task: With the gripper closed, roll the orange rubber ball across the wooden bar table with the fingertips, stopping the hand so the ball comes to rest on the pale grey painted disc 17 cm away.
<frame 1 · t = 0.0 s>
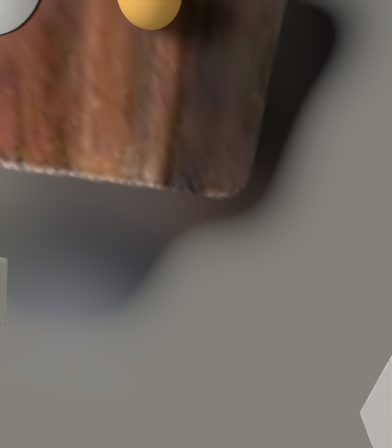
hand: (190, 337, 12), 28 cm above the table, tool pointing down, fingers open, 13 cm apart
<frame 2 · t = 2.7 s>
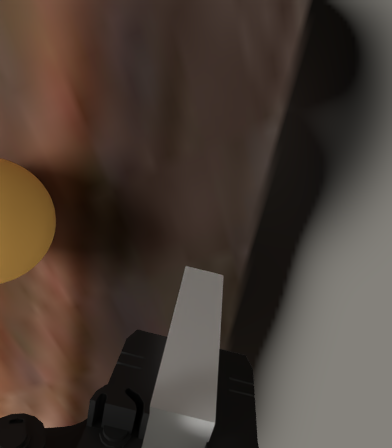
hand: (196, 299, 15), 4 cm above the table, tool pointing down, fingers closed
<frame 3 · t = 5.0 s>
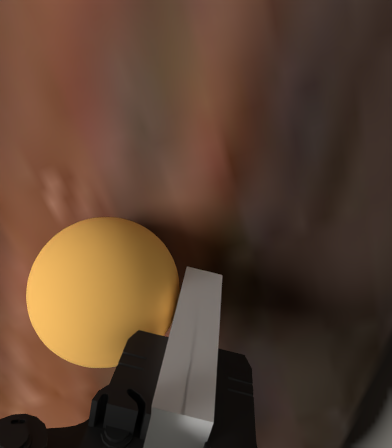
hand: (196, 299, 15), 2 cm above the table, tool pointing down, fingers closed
ball: (106, 289, 14), on the table, touching gripper
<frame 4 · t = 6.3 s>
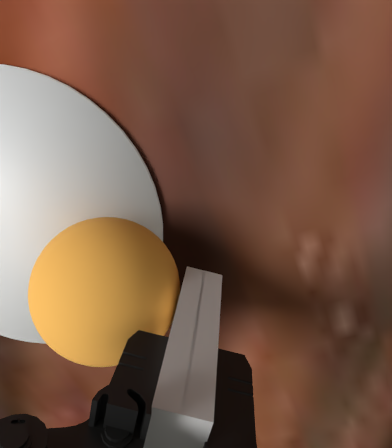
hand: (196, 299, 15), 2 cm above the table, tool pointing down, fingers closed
ball: (107, 289, 14), on the table, touching gripper
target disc: (19, 222, 16), on the table
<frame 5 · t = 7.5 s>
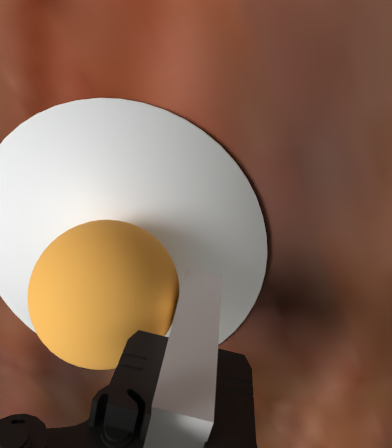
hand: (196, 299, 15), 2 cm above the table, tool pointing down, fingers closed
ball: (107, 291, 14), on the table, touching gripper
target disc: (119, 251, 16), on the table
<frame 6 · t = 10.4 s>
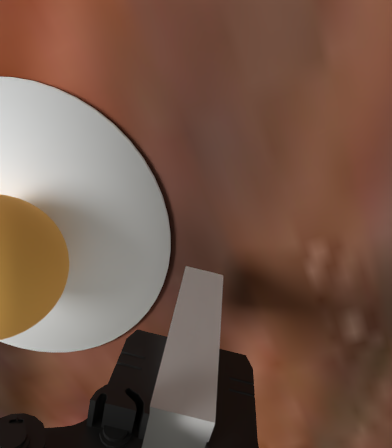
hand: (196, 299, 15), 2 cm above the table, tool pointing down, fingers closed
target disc: (27, 233, 16), on the table
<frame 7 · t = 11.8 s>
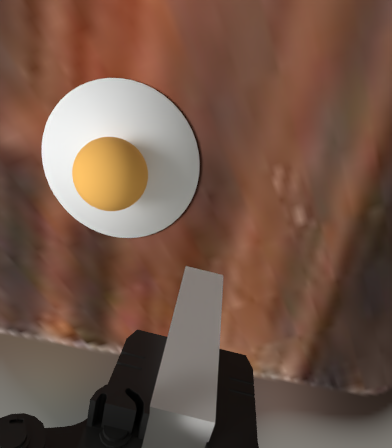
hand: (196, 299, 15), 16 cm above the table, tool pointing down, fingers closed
ball: (111, 174, 27), on the table
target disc: (120, 163, 30), on the table
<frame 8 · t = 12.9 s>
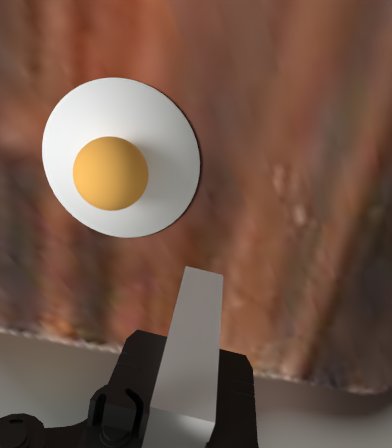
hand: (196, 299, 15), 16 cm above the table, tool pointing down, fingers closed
ball: (111, 174, 27), on the table
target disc: (120, 163, 30), on the table
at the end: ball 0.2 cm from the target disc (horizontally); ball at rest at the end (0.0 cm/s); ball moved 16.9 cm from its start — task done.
